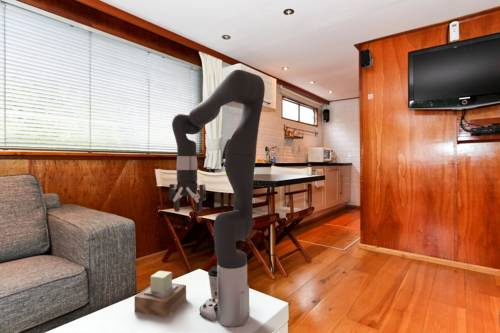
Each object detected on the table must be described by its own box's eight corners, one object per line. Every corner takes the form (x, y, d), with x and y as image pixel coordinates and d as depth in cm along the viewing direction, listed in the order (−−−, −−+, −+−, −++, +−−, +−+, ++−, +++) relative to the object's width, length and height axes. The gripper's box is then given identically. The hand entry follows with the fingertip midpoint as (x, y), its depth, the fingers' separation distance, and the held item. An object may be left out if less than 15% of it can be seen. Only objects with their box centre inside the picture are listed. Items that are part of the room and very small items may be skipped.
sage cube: (172, 286, 95) (171, 272, 94) (163, 293, 90) (163, 278, 90) (159, 284, 96) (159, 270, 96) (150, 291, 91) (150, 276, 91)
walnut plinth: (186, 299, 97) (186, 283, 97) (166, 317, 85) (166, 299, 85) (156, 294, 100) (156, 279, 100) (134, 311, 89) (134, 294, 89)
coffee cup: (217, 303, 94) (217, 274, 94) (203, 296, 99) (203, 269, 98) (231, 295, 100) (231, 268, 99) (217, 289, 104) (217, 263, 104)
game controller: (216, 319, 83) (203, 303, 84) (205, 329, 84) (193, 313, 86) (228, 303, 92) (217, 289, 94) (218, 313, 94) (207, 299, 95)
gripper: (208, 168, 103) (209, 211, 104) (175, 168, 107) (175, 209, 108) (199, 168, 96) (200, 214, 96) (164, 168, 100) (164, 212, 100)
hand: (187, 211), depth 102 cm, fingers open, 8 cm apart
